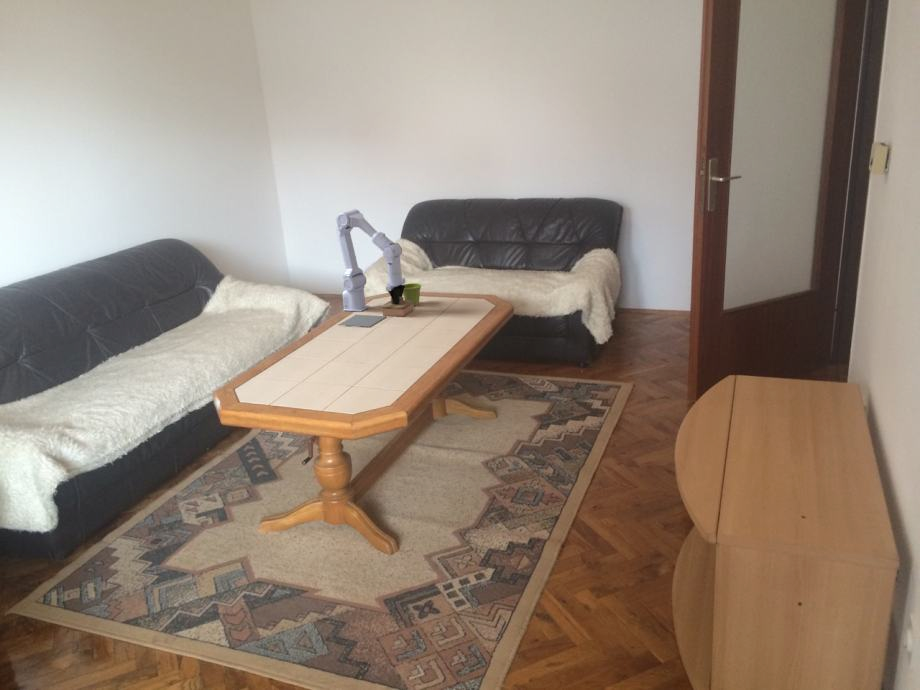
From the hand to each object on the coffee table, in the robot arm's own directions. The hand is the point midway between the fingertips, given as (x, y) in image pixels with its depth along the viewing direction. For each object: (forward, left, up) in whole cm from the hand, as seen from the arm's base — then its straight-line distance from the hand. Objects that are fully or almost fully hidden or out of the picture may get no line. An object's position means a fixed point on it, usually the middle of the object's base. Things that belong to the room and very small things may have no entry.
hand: (397, 302), depth 325 cm
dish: (0, 0, -5) cm, 5 cm away
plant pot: (0, +14, -5) cm, 15 cm away
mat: (-10, -14, -5) cm, 18 cm away
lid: (0, 0, -1) cm, 1 cm away
